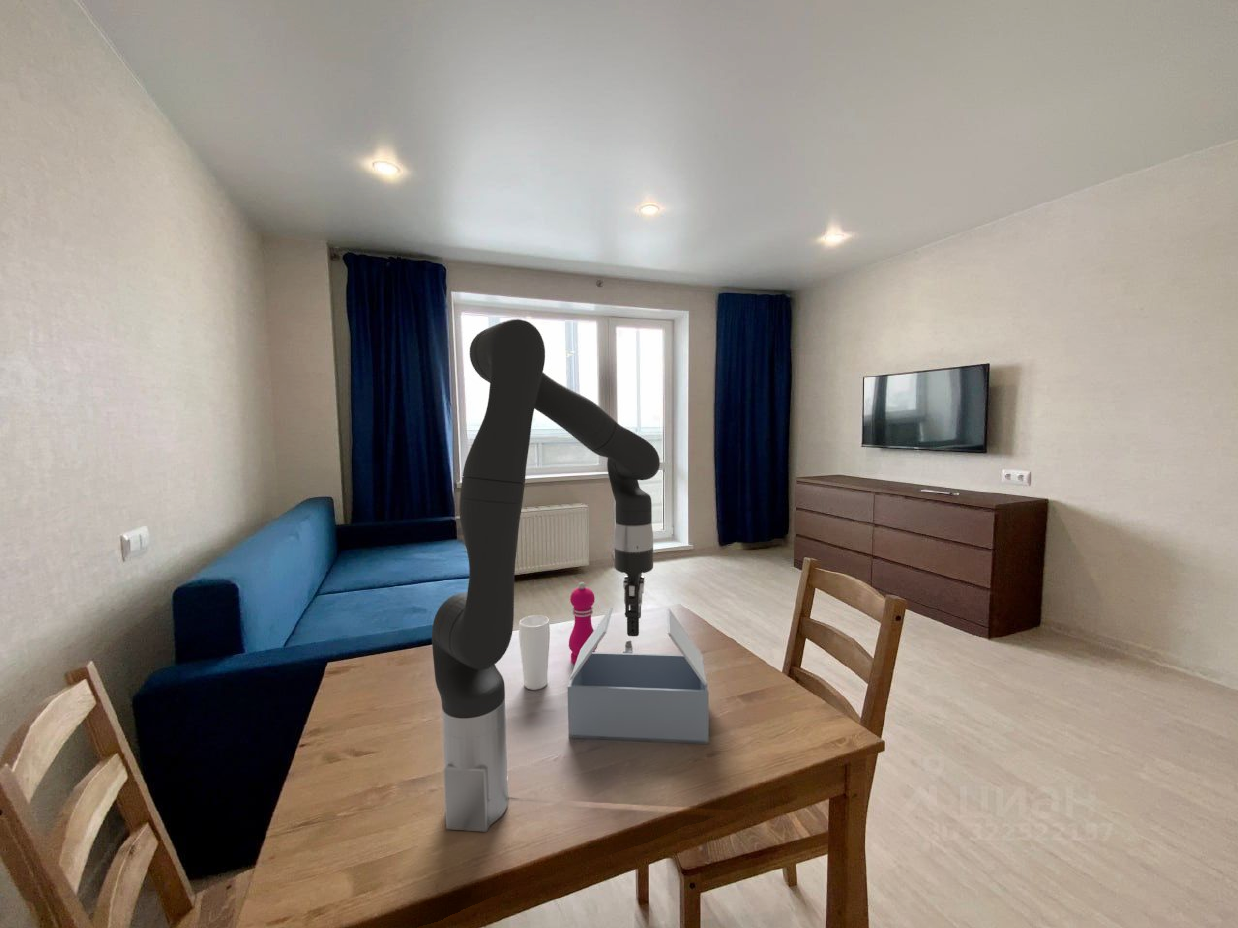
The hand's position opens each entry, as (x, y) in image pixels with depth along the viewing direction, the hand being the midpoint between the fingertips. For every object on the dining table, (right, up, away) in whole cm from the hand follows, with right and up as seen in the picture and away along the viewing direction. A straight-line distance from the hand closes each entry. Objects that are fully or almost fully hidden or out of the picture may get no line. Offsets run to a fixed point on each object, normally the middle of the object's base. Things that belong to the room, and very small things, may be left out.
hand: (634, 626), depth 96 cm
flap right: (+10, -3, 0) cm, 10 cm away
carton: (+1, -19, +2) cm, 19 cm away
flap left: (-8, -4, +1) cm, 9 cm away
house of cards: (+2, -18, +21) cm, 27 cm away
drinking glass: (-22, -18, +15) cm, 32 cm away
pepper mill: (-12, -17, +26) cm, 33 cm away
